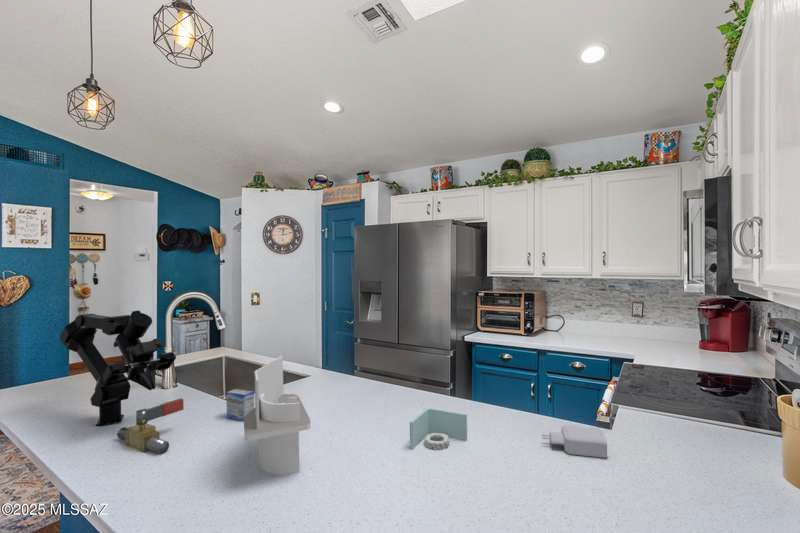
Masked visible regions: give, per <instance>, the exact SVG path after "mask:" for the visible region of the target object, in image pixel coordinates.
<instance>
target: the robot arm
mask: <svg viewBox="0 0 800 533" xmlns="http://www.w3.org/2000/svg"><path fill="white" fill-rule="evenodd" d="M152 323H153V318H152V317H151V316H150V315H147V314H146V313H143V312H141V310H133V311H132V312H131V313H130V314H125V315H117V316H107V315H100V314H99V315H98V314H96V313H86V314H85V313H84V314H79V315H77V316H76V317H75V319H74V320H73V321H71V322H69V323H68V324H67V325H65V326H64V327H63V329H62V331H61V332H60V334H59V340H60V343H61V344H62V345H64V347H65V348H66V349H67V350H69V351H71V352H75V353H77V354H78V356H79V357H80V360H82V362H83V363H84V365H85V367H86V368H87V370H88V371H89V373H90V374H91V376H92V377H93V378H94V380H95V381H96V384H95V387H94V392H93V394H92V395H91V397H90V404H91V406H92V407H93V406H94V407H97V408H98V411H99V412H98V413H99V415H98V416H99V417H98V418H99V419H98V420H97V422H96V424H95V426H96V427H99V426H104V425H105V426H106V425H112V424H117V423H118V424H119V423H121V422H122V421H123V419H124V417H125V414H122V401H124V400H129V396H130V391H131V383H130V381H131V382H134V383H136V384H138V385H140V386H142V387H143V388H145V389H146V390H148V391H152V390H155V389H156V387H157V386H156V371H164V370H168V369H170V368H171V366H173V364H174V362H175V360H176V359H177V356H176V354H175V353H174V352H172V351H169V352H164V353H160V354H158V357H157V358H155V359H152V358H153V357H154V353H156V352H158V351H159V350H160V349H161V348H163V343H162V340H161V339H160V338H158V337H157V338H153V339H152V340H148V341H144V342H142V341H141V338H142V337H144V336H145V334H146V333H147V332H148V330H149V328H150V327H151V325H152ZM98 330H101V331H102V333H103V334H105V335H107V336H116V338H115V339H114V342H113V348H117V347H118V349H119V351H120V354H121V355H122V356H121V361H119V362H116V363H110V364H108V363H107V361H106V359H105V358H104V356H103V355H102V353H101V352H100V351H99V350H98V348H97V347H96V345H95V344H94V339H95V335H96V333H97V331H98ZM124 361H125V362H124ZM125 374H126V375H127V376H126V375H125Z"/></svg>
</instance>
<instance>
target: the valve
mask: <svg viewBox="0 0 800 533" xmlns="http://www.w3.org/2000/svg"><path fill="white" fill-rule="evenodd" d="M116 436H117V438H118V439H120V440H121V441H125V446H126V447H129V448H132V449H135V450H136V451H139V452H143V453H147V452H149V451H152V452H153V453H157V454H159V455H163V454H165V453H166V452H168V450H169V449H170V442H169V441H168V440H165V439H162V438H160V431H158V430H157V427H156V425H153V424H149V423H146V424H144V425H136V424H135V425H132V426H130V427H128V426H123V427H121V428H120V429H119V430H118V431H117V433H116Z"/></svg>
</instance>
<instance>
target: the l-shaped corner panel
mask: <svg viewBox="0 0 800 533" xmlns="http://www.w3.org/2000/svg"><path fill="white" fill-rule="evenodd" d="M450 439H455V440H460V441H464V442H467V441H468V414H467V413H465V412H458V411H453V410H447V409H440V408H435V407H428V406H427V407H425V409H423V410H422V411H421V412H419V413H418V414H417V415H416V416H415V417H414V418H413V419H411V420H410V421H409V449H410V450H412V451H413V450H414V449H416V447H418V446H419V444H421V442H422V441H423V440H424V442H423V443H424V446H426V448H428V449H430V450H434V451H440V450H445V449H447V448H449V446H450V442H451V440H450Z"/></svg>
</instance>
